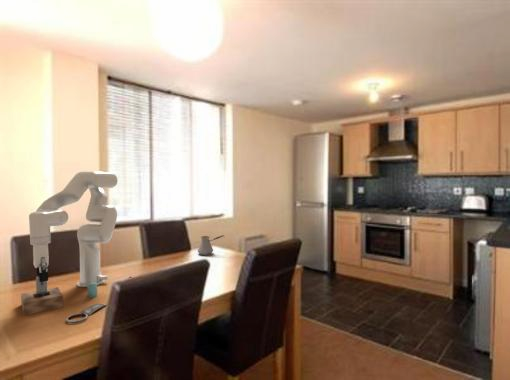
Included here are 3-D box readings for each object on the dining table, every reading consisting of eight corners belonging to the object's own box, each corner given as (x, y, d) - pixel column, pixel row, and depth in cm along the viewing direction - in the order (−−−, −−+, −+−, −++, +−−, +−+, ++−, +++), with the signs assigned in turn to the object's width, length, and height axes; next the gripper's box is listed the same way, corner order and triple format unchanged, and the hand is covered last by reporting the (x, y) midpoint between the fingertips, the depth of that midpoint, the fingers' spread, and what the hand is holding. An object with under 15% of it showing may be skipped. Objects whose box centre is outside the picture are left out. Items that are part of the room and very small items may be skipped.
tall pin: (49, 303, 146) (48, 275, 145) (45, 307, 142) (44, 277, 141) (39, 304, 145) (38, 275, 144) (34, 307, 141) (34, 278, 141)
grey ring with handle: (110, 306, 143) (110, 302, 143) (78, 326, 124) (78, 321, 124) (94, 305, 145) (94, 301, 145) (61, 324, 126) (60, 319, 126)
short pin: (98, 294, 157) (98, 282, 157) (95, 297, 153) (95, 284, 153) (89, 294, 157) (89, 282, 157) (86, 297, 153) (86, 285, 153)
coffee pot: (194, 255, 237) (194, 234, 237) (202, 251, 248) (202, 232, 247) (221, 257, 230) (221, 236, 229) (227, 254, 241) (227, 233, 240)
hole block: (58, 297, 153) (57, 287, 153) (63, 306, 142) (62, 295, 142) (21, 304, 144) (21, 293, 144) (23, 315, 133) (23, 303, 133)
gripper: (28, 238, 147) (30, 275, 148) (32, 244, 133) (34, 285, 134) (48, 235, 151) (49, 271, 152) (53, 242, 138) (55, 281, 139)
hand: (42, 278), depth 143 cm, fingers open, 9 cm apart
